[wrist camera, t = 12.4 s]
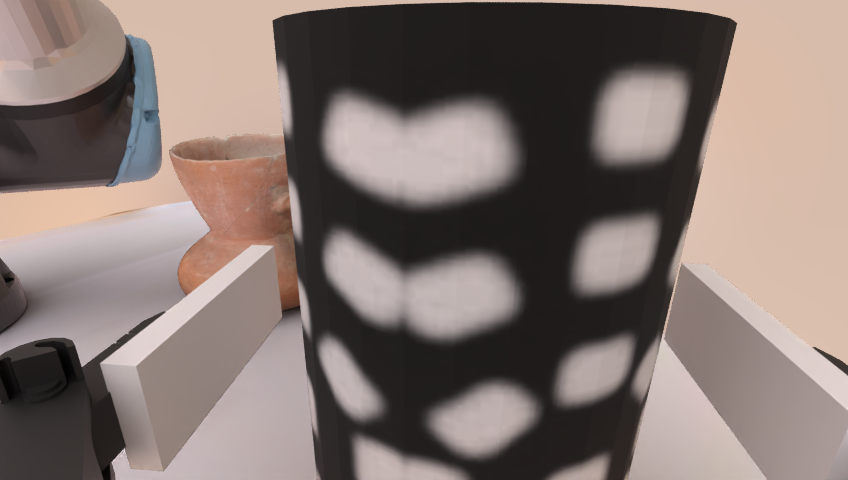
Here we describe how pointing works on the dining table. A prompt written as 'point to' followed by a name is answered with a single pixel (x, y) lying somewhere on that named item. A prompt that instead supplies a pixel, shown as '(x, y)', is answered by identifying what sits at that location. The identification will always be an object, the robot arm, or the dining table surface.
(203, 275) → the ceramic jug
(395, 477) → the white-spotted black cylinder
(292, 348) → the dining table surface
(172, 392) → the robot arm
